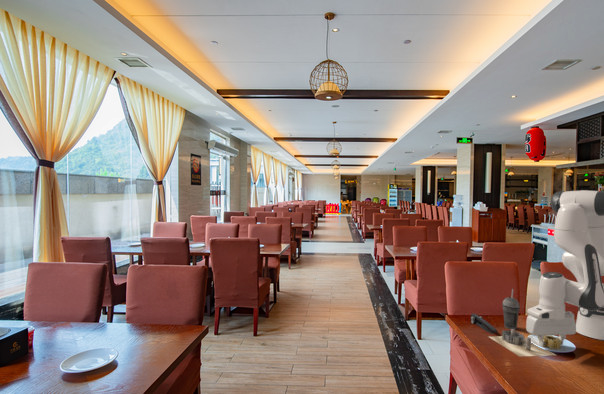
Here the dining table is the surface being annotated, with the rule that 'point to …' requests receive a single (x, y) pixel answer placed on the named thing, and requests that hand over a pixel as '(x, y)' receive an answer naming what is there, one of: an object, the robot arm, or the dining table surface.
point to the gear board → (523, 347)
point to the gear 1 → (513, 337)
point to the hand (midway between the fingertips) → (550, 344)
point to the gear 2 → (552, 342)
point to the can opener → (482, 323)
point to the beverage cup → (510, 312)
